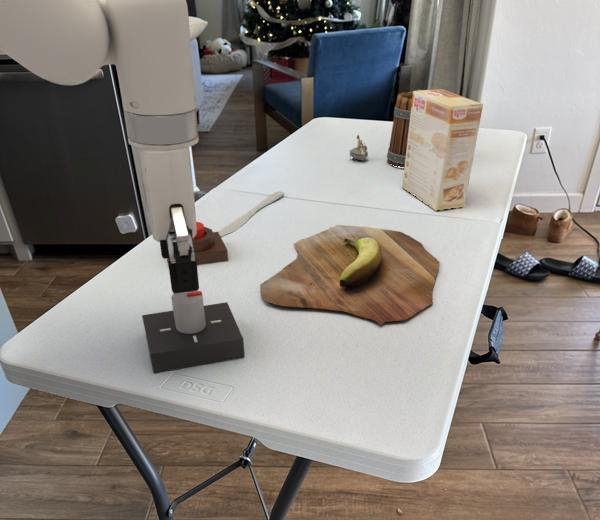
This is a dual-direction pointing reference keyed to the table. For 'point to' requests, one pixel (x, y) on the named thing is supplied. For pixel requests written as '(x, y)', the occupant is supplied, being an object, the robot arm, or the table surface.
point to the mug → (400, 130)
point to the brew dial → (189, 312)
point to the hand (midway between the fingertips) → (179, 272)
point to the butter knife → (249, 214)
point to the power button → (199, 231)
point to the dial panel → (193, 339)
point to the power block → (209, 248)
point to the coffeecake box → (441, 147)
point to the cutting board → (357, 274)
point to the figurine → (359, 151)
